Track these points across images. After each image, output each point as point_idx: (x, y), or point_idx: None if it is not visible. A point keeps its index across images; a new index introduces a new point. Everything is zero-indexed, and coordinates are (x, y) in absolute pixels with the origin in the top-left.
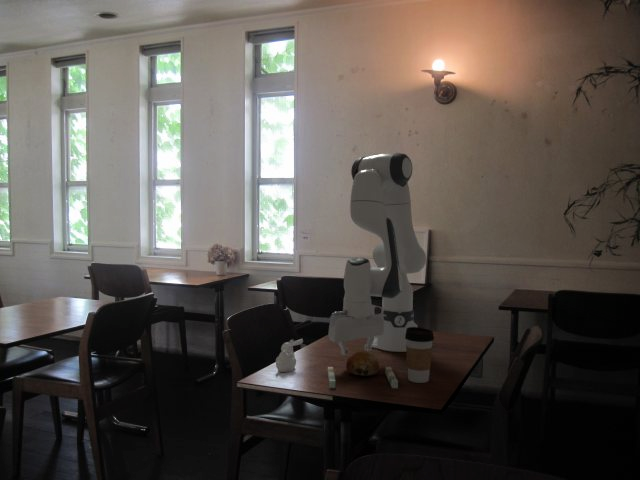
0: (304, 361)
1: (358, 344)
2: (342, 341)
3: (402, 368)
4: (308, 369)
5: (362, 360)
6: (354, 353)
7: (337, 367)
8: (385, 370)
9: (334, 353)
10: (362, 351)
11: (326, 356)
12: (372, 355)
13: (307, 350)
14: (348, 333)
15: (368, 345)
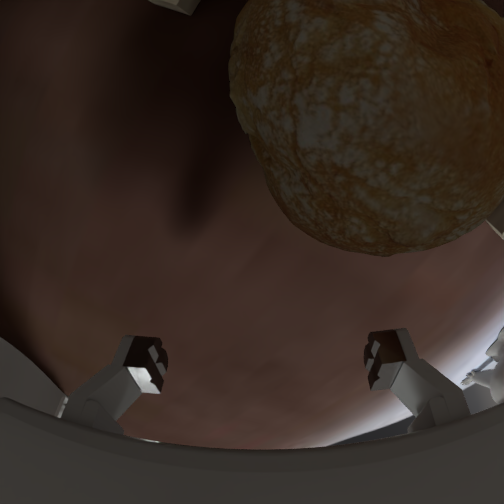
0: None
1: None
2: (466, 414)
3: (29, 100)
4: (486, 311)
5: (497, 23)
6: (493, 201)
7: (387, 290)
8: (185, 9)
9: (242, 418)
10: (458, 143)
11: (296, 408)
12: (345, 4)
13: (302, 446)
14: (449, 494)
15: (138, 368)
